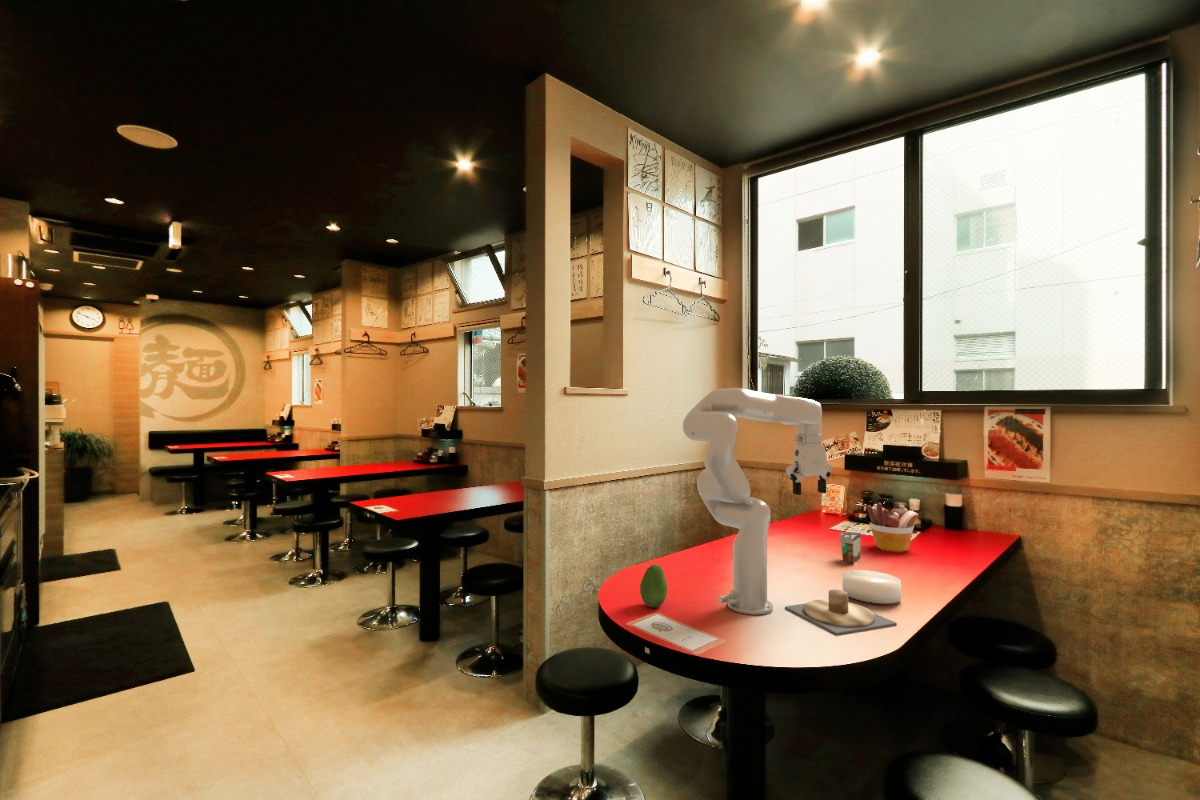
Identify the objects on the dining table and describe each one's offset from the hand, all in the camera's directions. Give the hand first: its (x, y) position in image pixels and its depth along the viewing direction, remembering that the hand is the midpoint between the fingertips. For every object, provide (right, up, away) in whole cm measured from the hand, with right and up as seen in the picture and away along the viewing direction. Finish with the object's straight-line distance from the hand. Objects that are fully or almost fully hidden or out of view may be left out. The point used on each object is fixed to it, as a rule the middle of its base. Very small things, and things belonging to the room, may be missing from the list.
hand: (809, 493), depth 175 cm
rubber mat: (-1, -30, -24) cm, 38 cm away
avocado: (-52, -30, -16) cm, 62 cm away
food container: (+27, -31, +33) cm, 53 cm away
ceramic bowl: (+15, -30, -9) cm, 35 cm away
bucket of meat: (+53, -32, +50) cm, 80 cm away
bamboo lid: (-1, -29, -24) cm, 38 cm away
